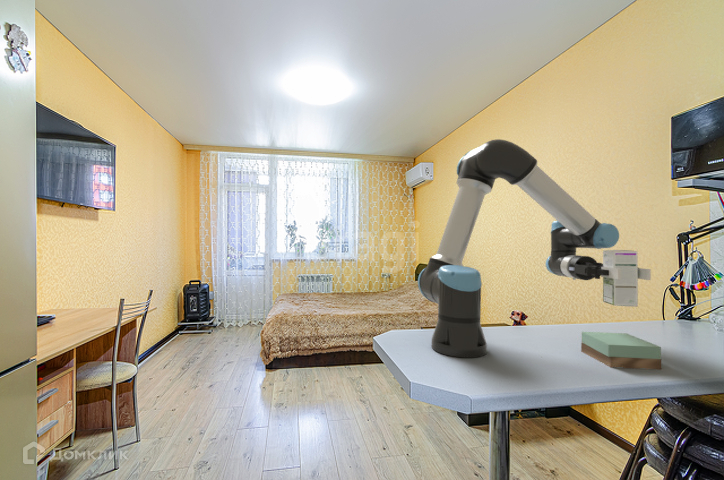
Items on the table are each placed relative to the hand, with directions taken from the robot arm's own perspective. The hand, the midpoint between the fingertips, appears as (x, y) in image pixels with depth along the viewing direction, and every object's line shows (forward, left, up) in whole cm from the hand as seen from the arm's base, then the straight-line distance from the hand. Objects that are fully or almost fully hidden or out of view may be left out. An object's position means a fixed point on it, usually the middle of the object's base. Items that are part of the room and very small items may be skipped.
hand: (634, 274), depth 83 cm
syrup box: (0, +5, -9) cm, 10 cm away
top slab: (0, +5, -21) cm, 21 cm away
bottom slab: (0, +5, -24) cm, 24 cm away
